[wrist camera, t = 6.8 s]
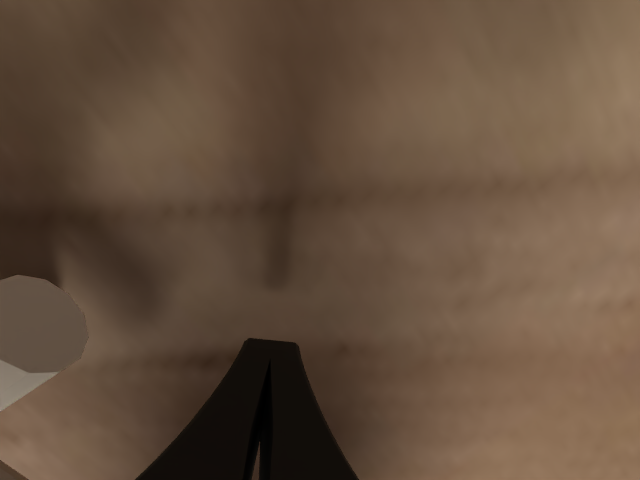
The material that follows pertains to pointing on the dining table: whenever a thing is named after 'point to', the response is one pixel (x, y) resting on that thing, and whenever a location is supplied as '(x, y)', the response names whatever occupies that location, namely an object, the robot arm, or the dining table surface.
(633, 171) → the dining table surface
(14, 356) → the pipe connector
